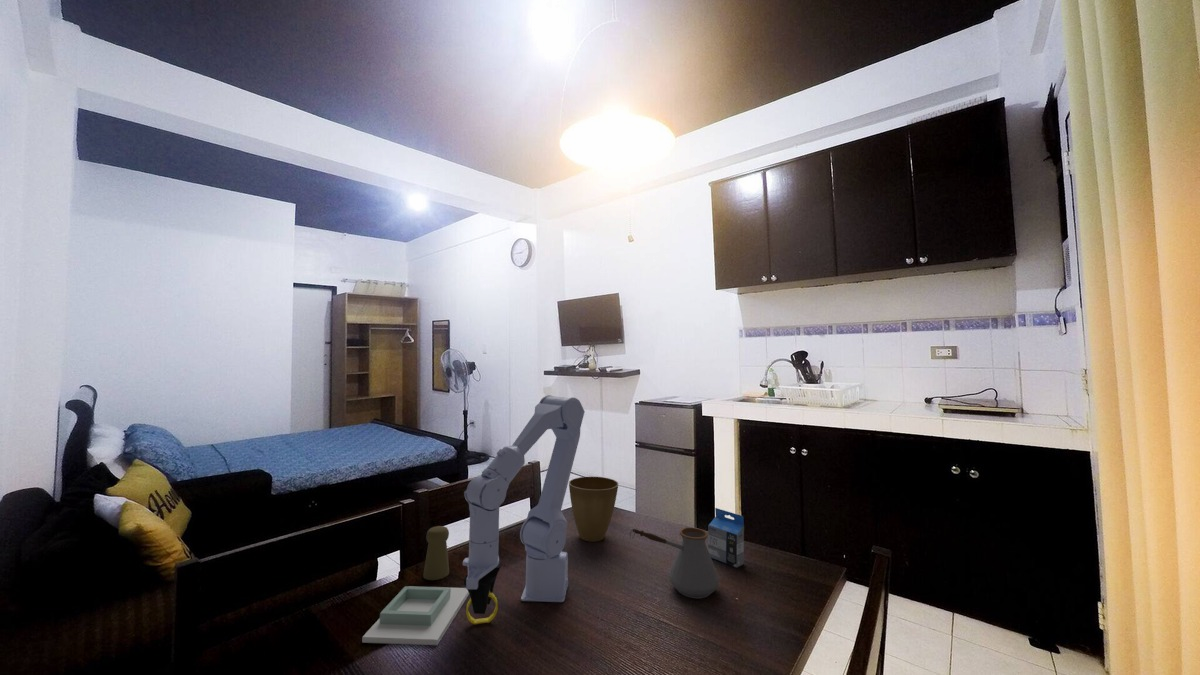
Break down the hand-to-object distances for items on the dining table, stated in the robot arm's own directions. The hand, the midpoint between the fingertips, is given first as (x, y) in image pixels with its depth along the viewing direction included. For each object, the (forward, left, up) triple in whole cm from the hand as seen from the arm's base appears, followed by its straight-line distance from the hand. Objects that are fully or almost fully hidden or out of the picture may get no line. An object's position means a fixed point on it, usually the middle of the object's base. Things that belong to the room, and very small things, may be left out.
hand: (482, 607), depth 86 cm
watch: (0, 0, -3) cm, 3 cm away
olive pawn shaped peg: (+17, -19, -3) cm, 26 cm away
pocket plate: (+13, -2, -3) cm, 14 cm away
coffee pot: (-40, -14, -3) cm, 42 cm away
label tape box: (-56, -31, -3) cm, 64 cm away
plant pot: (-20, -44, -3) cm, 48 cm away
